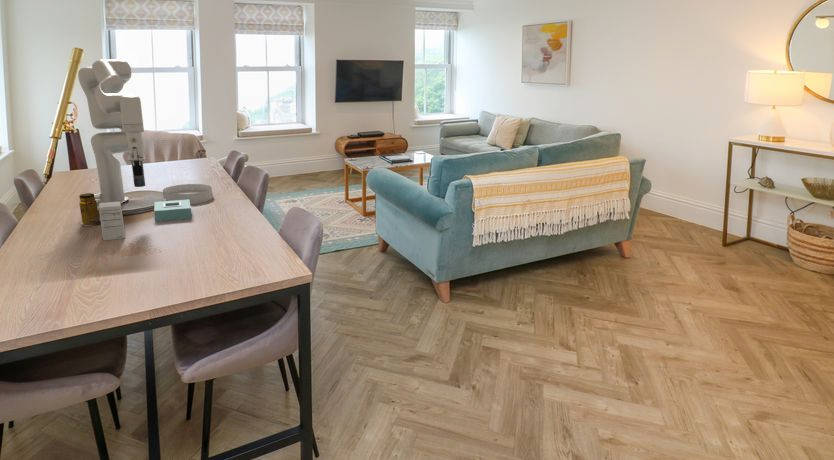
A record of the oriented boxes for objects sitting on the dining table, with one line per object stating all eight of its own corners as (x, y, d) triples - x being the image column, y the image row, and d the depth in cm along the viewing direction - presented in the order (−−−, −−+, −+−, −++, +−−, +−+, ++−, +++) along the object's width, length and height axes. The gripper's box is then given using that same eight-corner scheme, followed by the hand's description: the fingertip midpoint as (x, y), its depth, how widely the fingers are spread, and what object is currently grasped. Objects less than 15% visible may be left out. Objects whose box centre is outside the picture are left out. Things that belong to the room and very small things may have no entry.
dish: (196, 206, 267) (195, 195, 265) (153, 203, 271) (151, 192, 269) (221, 195, 287) (220, 185, 286) (180, 192, 292) (179, 182, 290)
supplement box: (103, 235, 223) (98, 202, 219) (125, 233, 226) (121, 201, 222) (102, 240, 216) (97, 207, 213) (125, 238, 219) (120, 205, 216)
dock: (155, 221, 241) (154, 210, 240) (155, 211, 255) (154, 201, 254) (191, 218, 246) (190, 207, 245) (190, 209, 260) (189, 198, 259)
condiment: (78, 223, 237) (74, 194, 234) (100, 219, 243) (96, 191, 240) (86, 227, 233) (81, 197, 229) (108, 222, 239) (104, 193, 235)
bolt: (130, 188, 232) (126, 157, 228) (131, 184, 237) (127, 155, 234) (148, 187, 234) (145, 157, 230) (148, 183, 240) (145, 154, 236)
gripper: (143, 130, 223) (148, 178, 228) (144, 125, 237) (149, 169, 243) (121, 131, 220) (127, 179, 225) (123, 125, 235) (129, 170, 240)
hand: (138, 173), depth 234 cm, fingers closed on bolt, 4 cm apart
